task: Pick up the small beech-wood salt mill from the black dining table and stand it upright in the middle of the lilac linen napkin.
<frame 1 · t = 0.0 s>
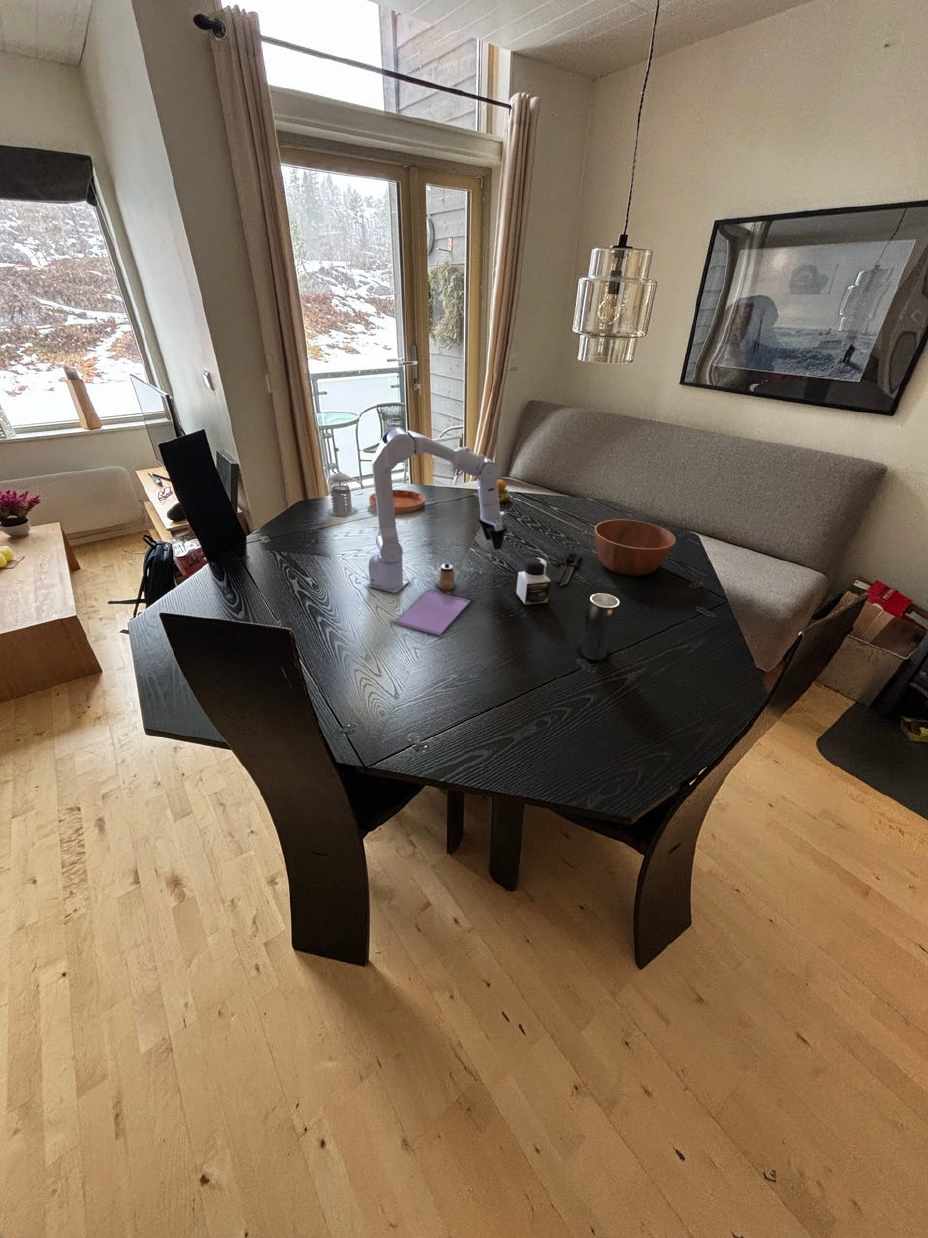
hand: (493, 543, 151), 11 cm above the table, tool pointing down, fingers open, 7 cm apart
bowl: (627, 566, 166), on the table
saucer: (397, 506, 208), on the table
medicine bottle: (531, 598, 145), on the table
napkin: (434, 612, 136), on the table
knife: (567, 571, 161), on the table
french press: (343, 512, 200), on the table
salt mill: (446, 586, 149), on the table
beer glass: (593, 654, 122), on the table
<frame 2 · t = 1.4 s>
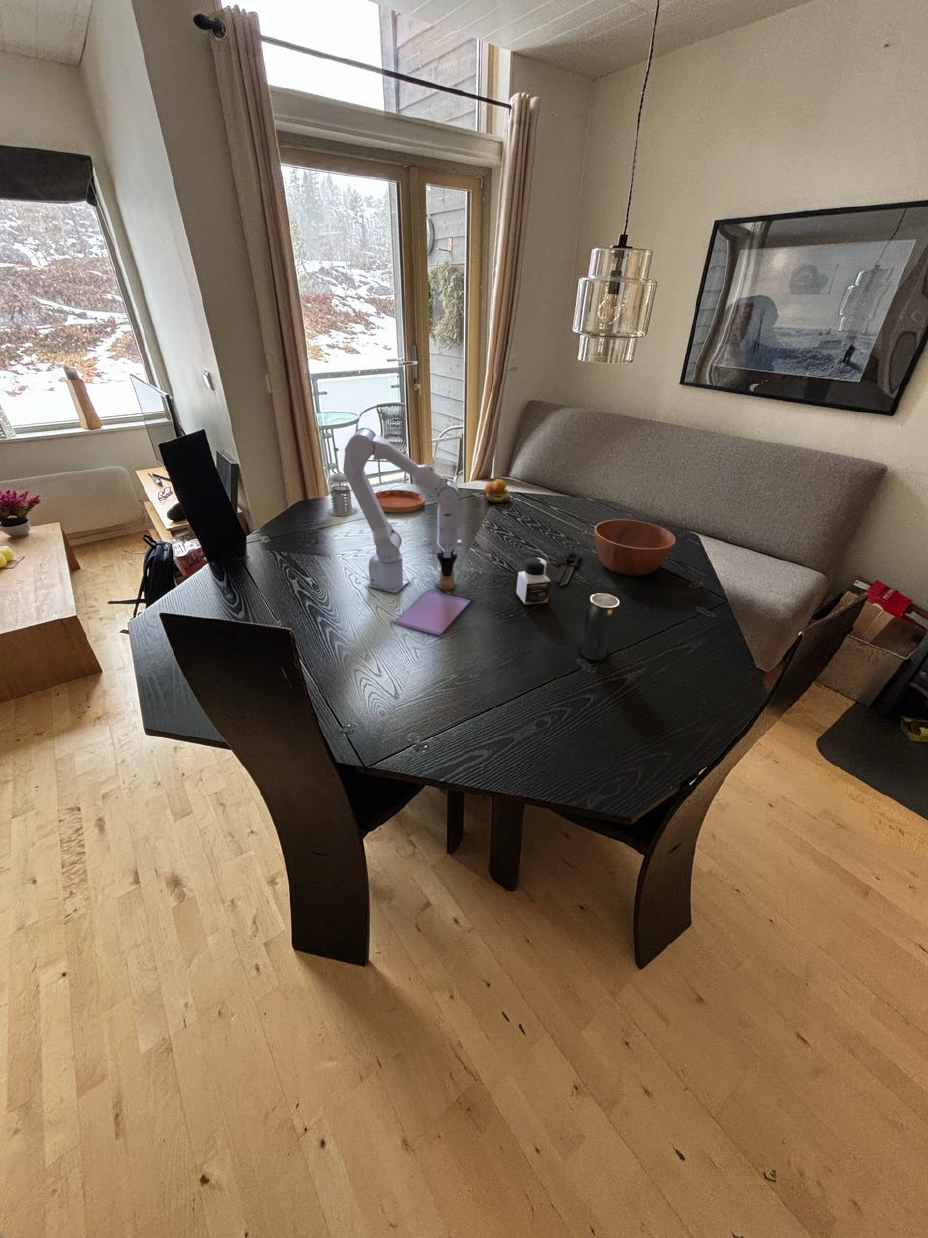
hand: (447, 570, 146), 5 cm above the table, tool pointing down, fingers open, 7 cm apart
nothing on the table moved.
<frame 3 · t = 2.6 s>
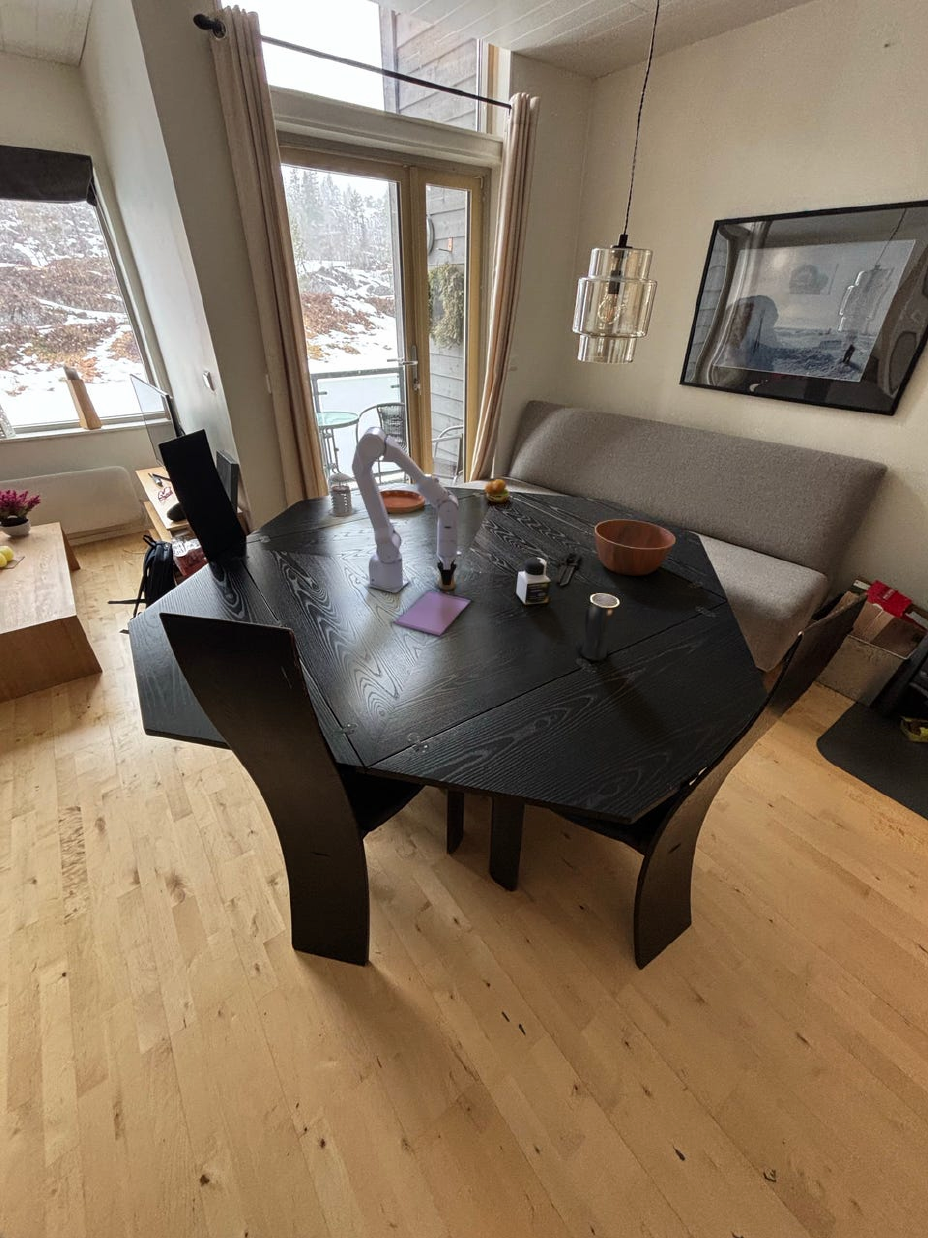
hand: (446, 581, 148), 2 cm above the table, tool pointing down, fingers closed on salt mill, 4 cm apart
salt mill: (446, 586, 149), on the table, touching gripper
everything else where it was.
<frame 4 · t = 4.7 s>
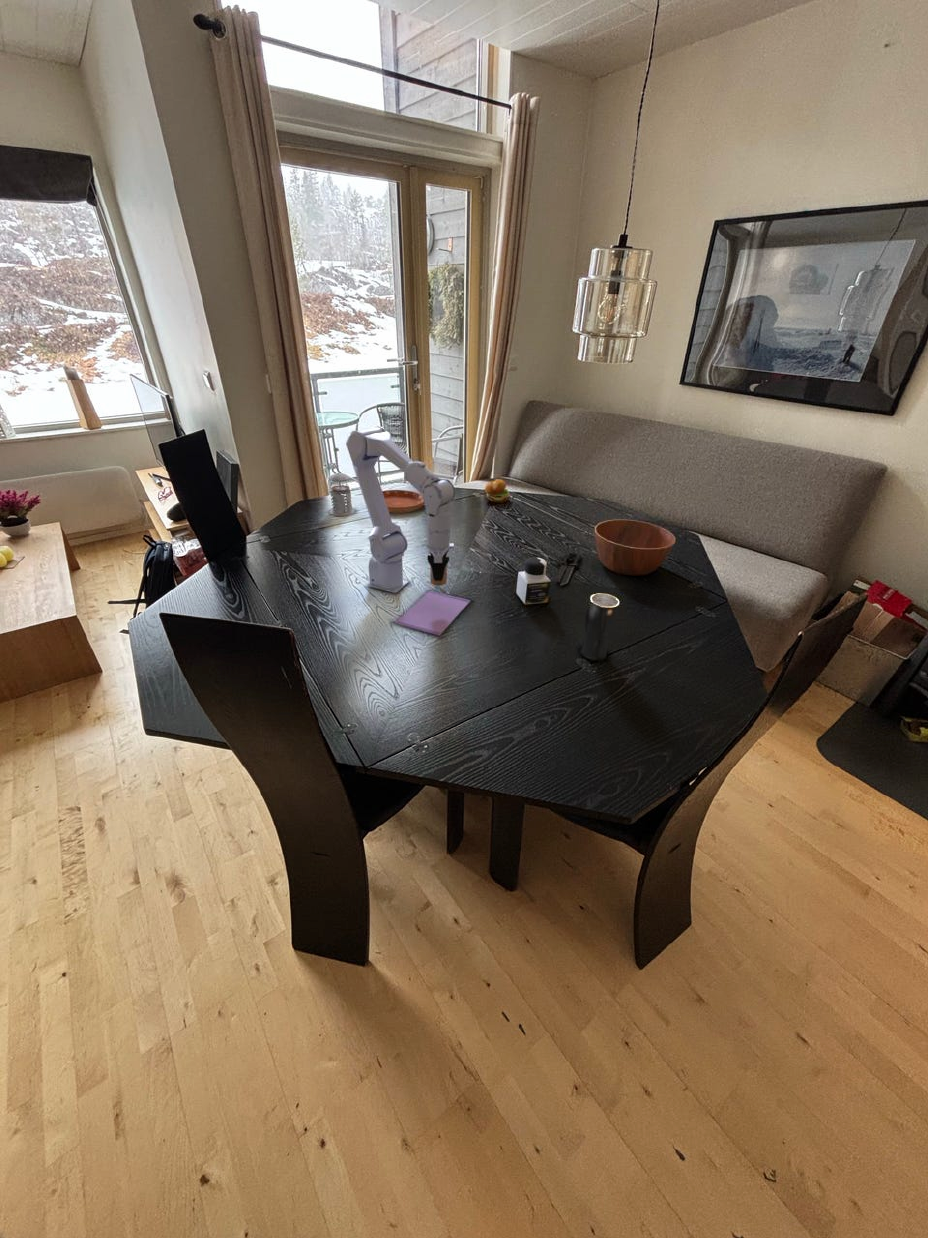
hand: (438, 576, 135), 9 cm above the table, tool pointing down, fingers closed on salt mill, 4 cm apart
salt mill: (438, 581, 136), point 7 cm above the table, touching gripper
everything else where it was.
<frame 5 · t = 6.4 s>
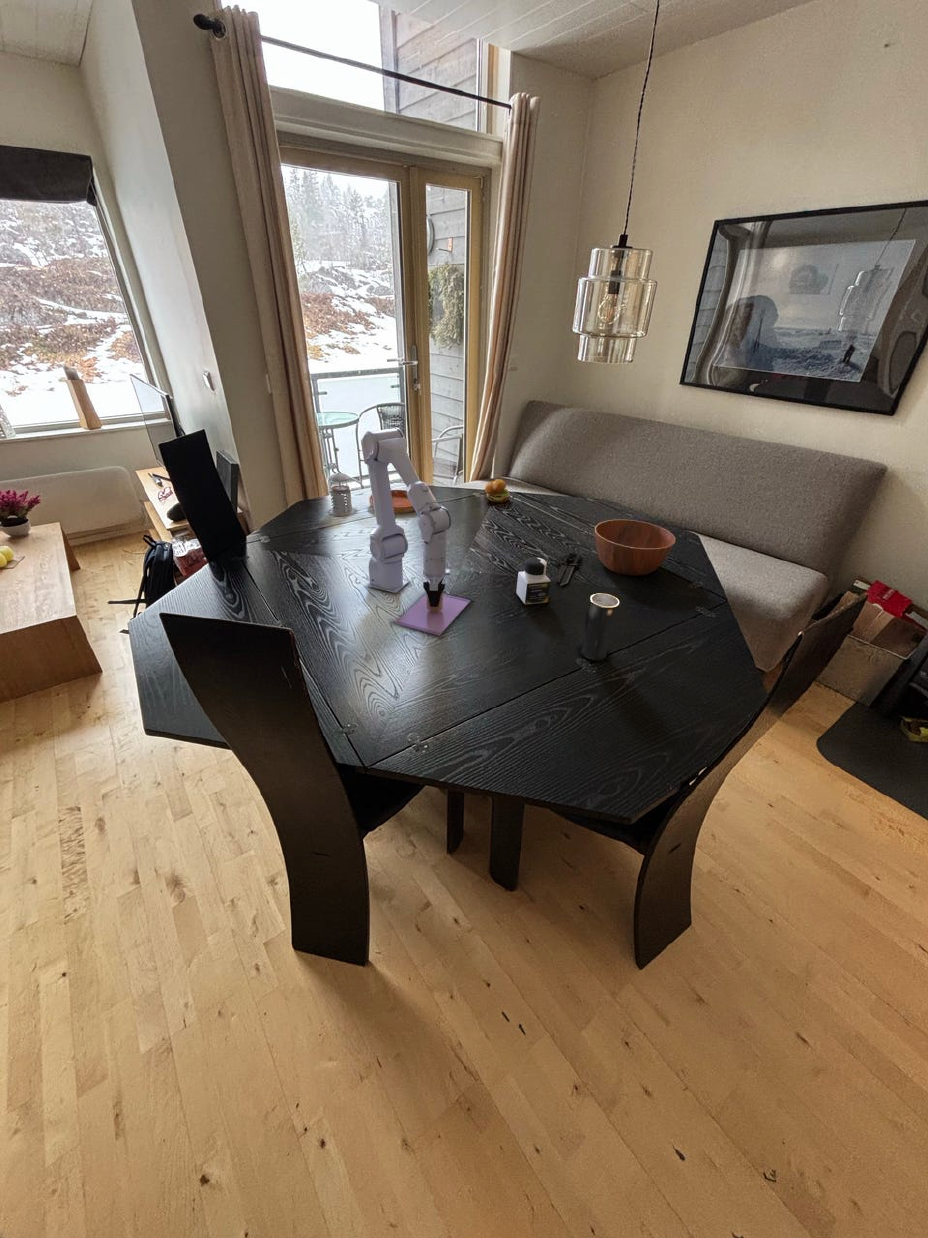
hand: (434, 601, 134), 3 cm above the table, tool pointing down, fingers closed on salt mill, 4 cm apart
salt mill: (434, 607, 135), point 1 cm above the table, touching gripper
everything else where it was.
when the fingers open (2 cm above the table, at t = 7.2 s): salt mill stays where it is, resting on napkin.
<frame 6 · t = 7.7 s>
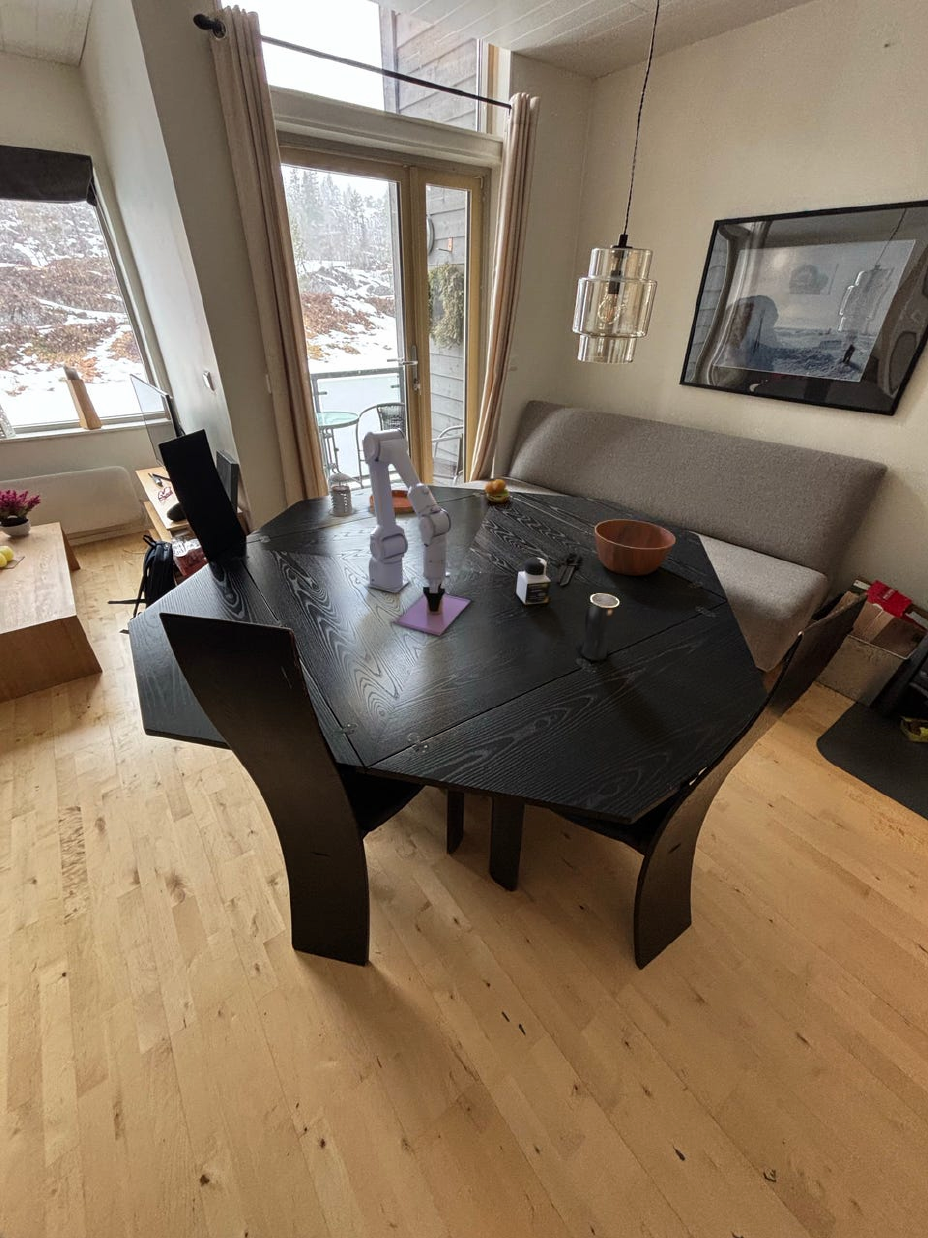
hand: (434, 603, 135), 3 cm above the table, tool pointing down, fingers open, 7 cm apart
salt mill: (434, 611, 136), resting on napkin
everything else where it was.
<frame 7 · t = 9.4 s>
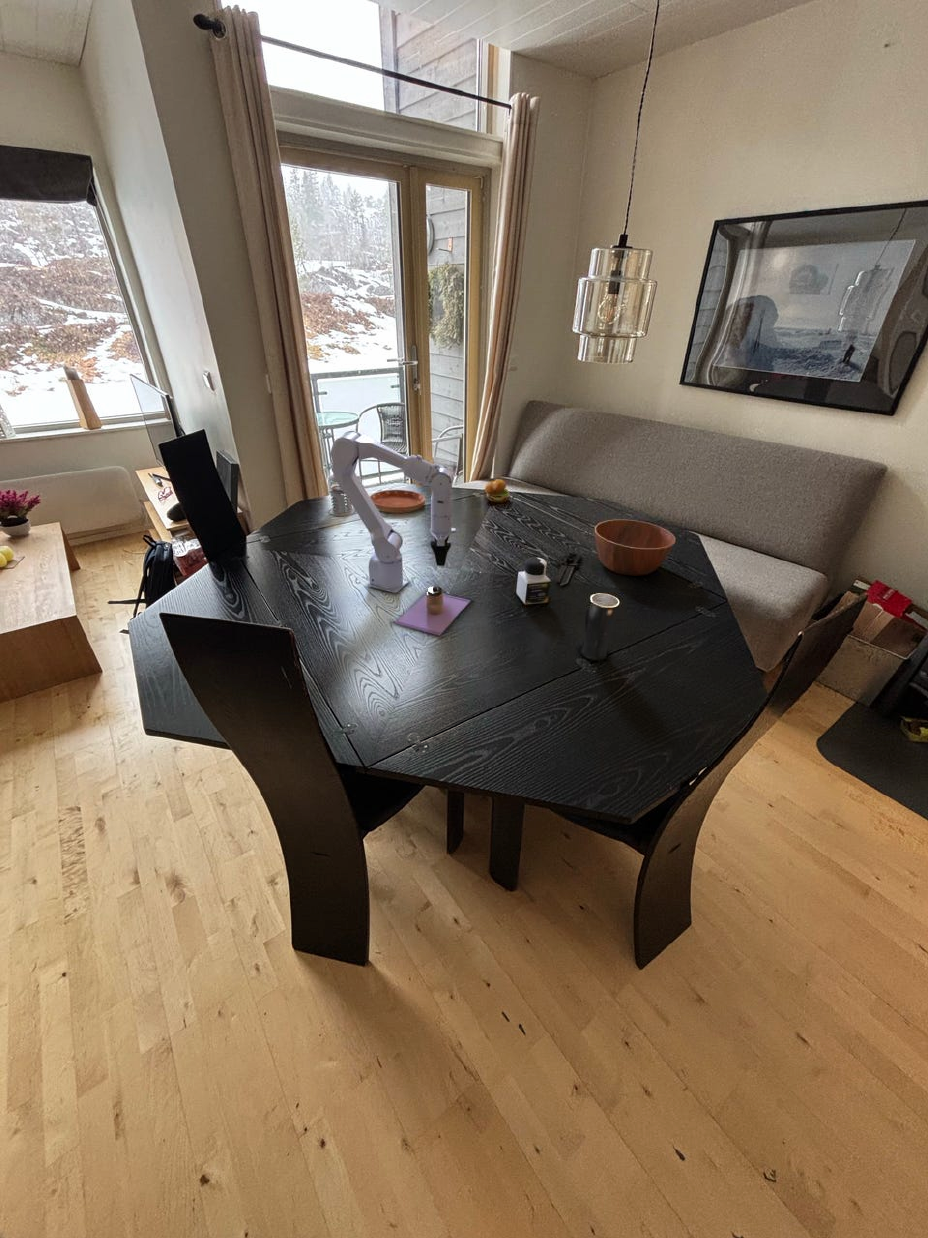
hand: (440, 559, 143), 9 cm above the table, tool pointing down, fingers open, 7 cm apart
nothing on the table moved.
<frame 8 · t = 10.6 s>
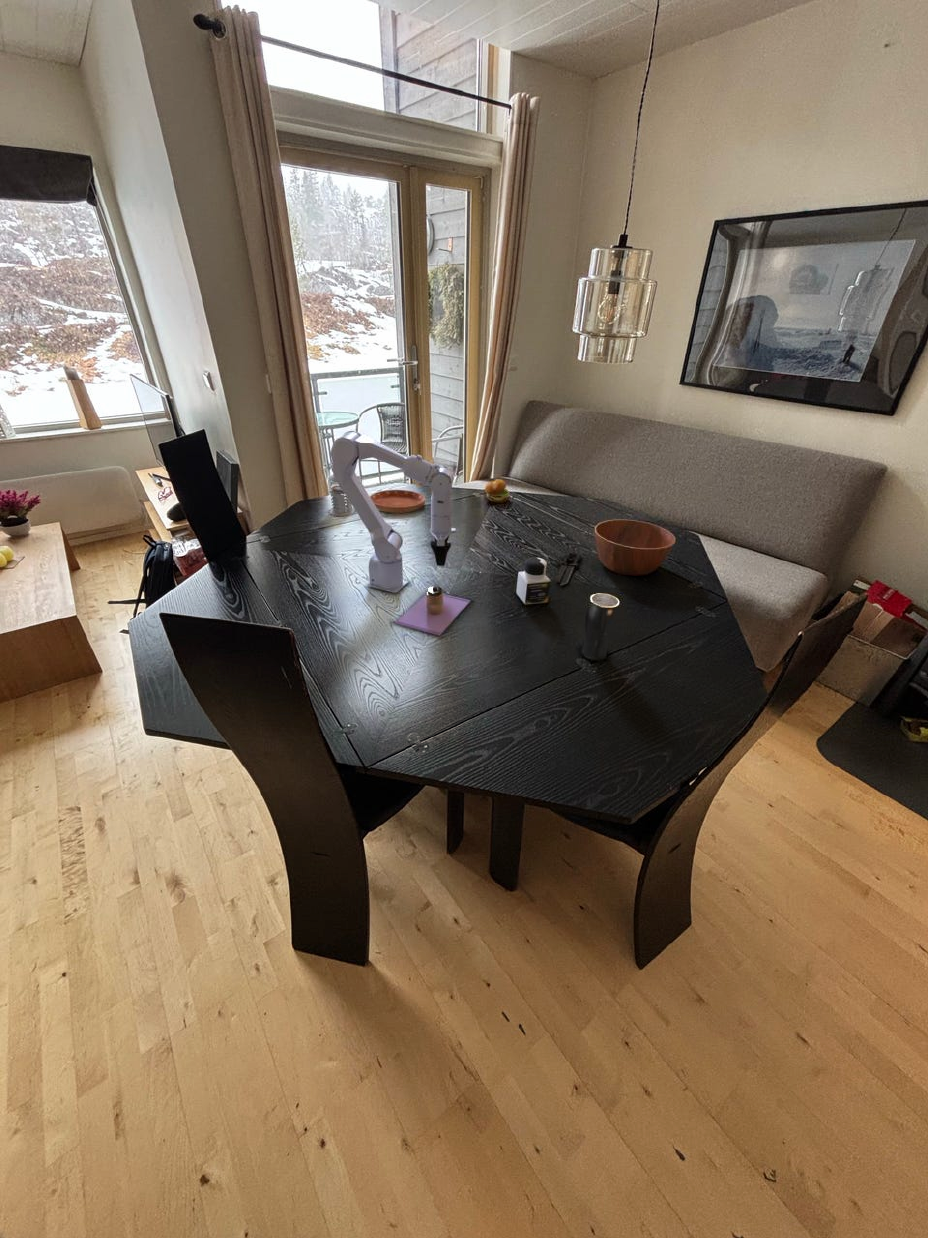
hand: (440, 559, 143), 9 cm above the table, tool pointing down, fingers open, 7 cm apart
nothing on the table moved.
at the end: salt mill inside the target area on the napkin (0.1 cm from its centre), point 0.3 cm above the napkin's base; salt mill tilted 0°; the gripper is holding nothing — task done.
